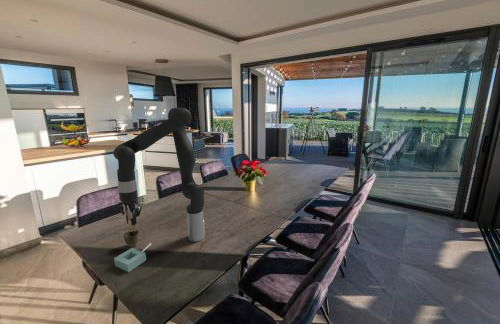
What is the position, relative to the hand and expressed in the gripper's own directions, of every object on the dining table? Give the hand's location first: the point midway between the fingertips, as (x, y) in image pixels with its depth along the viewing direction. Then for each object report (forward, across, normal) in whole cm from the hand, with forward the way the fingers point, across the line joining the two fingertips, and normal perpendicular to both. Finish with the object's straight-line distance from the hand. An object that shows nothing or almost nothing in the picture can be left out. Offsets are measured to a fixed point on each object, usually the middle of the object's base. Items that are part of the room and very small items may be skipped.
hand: (131, 223), depth 111 cm
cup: (+22, +15, -10) cm, 28 cm away
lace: (+21, +6, -11) cm, 25 cm away
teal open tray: (+22, +3, 0) cm, 22 cm away
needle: (+3, 0, 0) cm, 3 cm away
